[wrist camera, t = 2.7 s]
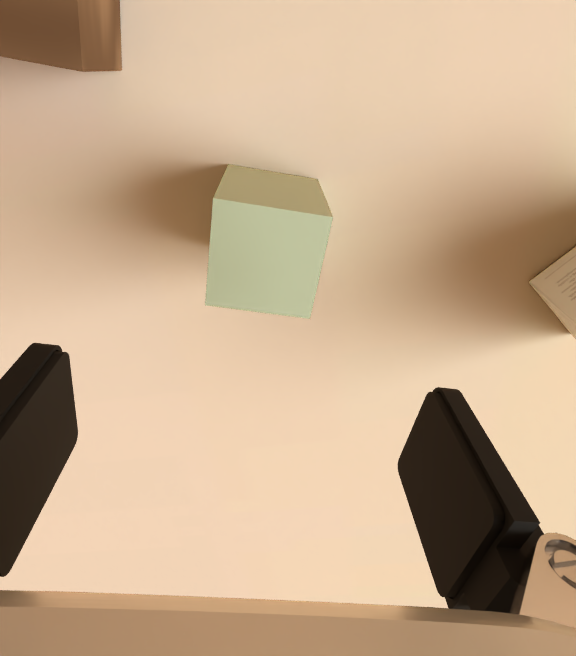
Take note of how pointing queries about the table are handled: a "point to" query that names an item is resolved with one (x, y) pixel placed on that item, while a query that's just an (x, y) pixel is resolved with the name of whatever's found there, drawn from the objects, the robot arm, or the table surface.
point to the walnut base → (62, 33)
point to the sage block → (266, 242)
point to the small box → (560, 289)
